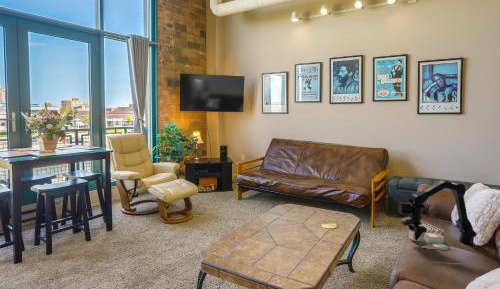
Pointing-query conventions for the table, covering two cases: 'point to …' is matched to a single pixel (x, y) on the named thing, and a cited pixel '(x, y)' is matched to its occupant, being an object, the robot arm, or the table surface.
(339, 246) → the table surface
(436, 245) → the coaster
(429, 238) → the cream labeled box
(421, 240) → the mat
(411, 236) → the cream block
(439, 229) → the crown molding
